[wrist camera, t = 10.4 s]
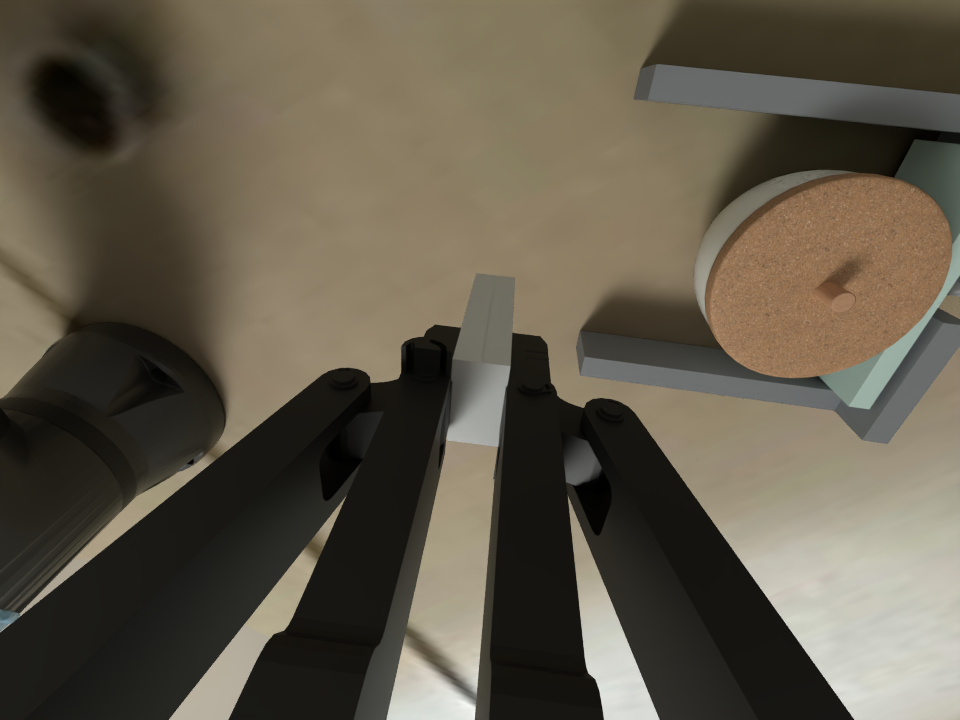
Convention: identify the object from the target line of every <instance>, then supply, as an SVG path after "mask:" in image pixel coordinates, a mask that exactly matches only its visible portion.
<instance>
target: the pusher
mask: <svg viewBox="0 0 960 720" xmlns="http://www.w3.org/2000/svg"><path fill="white" fill-rule="evenodd" d="M894 178H897V179H901V180H903V181H905V182H908V183H910V184H913V185H915V186H917V187H919V188H920V189H922V190H923V191H924V192H926V193H927V194H929V195H930V196H931V197H932V198H933V199H934V200H935V201H936V203H937V204H938V205H939V206H940V207H941V208H942V210H943V212H944V214H945V216H946V218H947V220H948V222H949V226H950V231H951V235H952V258H951V263H950V267H949V272H948V275H947V277H946V280H945V283H944V285H943V288H942V290H941V291H940V293H939V295H938V296H937V298H936V300H935V301H934V303H933V305H932V306H931V307H930V309H929V310H928V311H927V313H926V314H925V315H924V317H923V318H922V319H921V320H920V321H919V322H918V323H917V324H916V325H915V326H914V327H913V328H912V329H911V330H910V331H909V332H908V333H907V334H906V335H904V336H903V337H902V338H901V339H899V340H898V341H897V342H896V343H895V344H893V345H892V346H890V347H889V348H887V349H885V350H884V351H882V352H881V353H879V354H878V355H876V356H874V357H872V358H870V359H868V360H866V361H864V362H862V363H860V364H858V365H855V366H852V367H850V368H847V369H844V370H841V371H837V372H834V373H830V374H827V375H820V376H819V377H820V378H821V379H822V380H823V381H824V382H825V383H826V384H827V385H828V386H829V387H830V388H831V389H832V390H833V391H834V392H835V393H836V394H837V395H838V396H839V397H840V398H841V399H842V400H843V401H844V402H845V403H846V404H847V405H848V406H849V407H856V408H863V409H870V408H871V406H872V405H873V403H874V402H875V400H876V399H877V397H878V396H879V394H880V393H881V391H882V390H883V388H884V387H885V386H886V384H887V383H888V381H889V380H890V378H891V377H892V375H893V374H894V372H895V371H896V369H897V368H898V366H899V365H900V363H901V362H902V360H903V359H904V357H905V356H906V354H907V353H908V351H909V350H910V348H911V347H912V345H913V344H914V342H915V341H916V340H917V338H918V337H919V335H920V334H921V332H922V331H923V329H924V328H925V326H926V325H927V323H928V322H929V320H930V319H931V317H932V316H933V314H934V313H935V311H936V310H937V308H938V307H939V305H940V304H941V302H942V301H943V299H944V298H945V296H946V295H950V296H958V297H960V283H958V282H956V280H957V279H958V277H959V276H960V144H952V143H944V142H935V141H925V140H916V139H915V140H914V142H913V144H912V145H911V147H910V149H909V151H908V153H907V155H906V157H905V159H904V160H903V162H902V164H901V166H900V168H899V170H898V172H897V174H896V175H895V177H894Z"/></svg>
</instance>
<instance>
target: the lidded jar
mask: <svg viewBox="0 0 960 720" xmlns="http://www.w3.org/2000/svg"><path fill="white" fill-rule="evenodd" d="M951 258H952V235H951V231H950V226H949V222H948V220H947V218H946V216H945V214H944V212H943V210H942V208H941V207H940V206H939V205H938V204H937V203H936V201H935V200H934V199H933V198H932V197H931V196H930V195H929V194H927V193H926V192H924V191H923V190H922V189H920V188H919V187H917V186H915V185H913V184H910V183H908V182H905V181H903V180H901V179H897V178H892V177H887V176H882V175H878V174H870V173H856V172H850V171H841V170H812V171H803V172H797V173H791V174H787V175H783V176H780V177H776V178H773V179H771V180H768V181H766V182H763V183H761V184H759V185H757V186H755V187H753V188H752V189H750V190H748V191H746V192H745V193H743V194H742V195H740V196H739V197H738V198H736V199H735V200H734V201H732V202H731V203H730V204H729V205H728V206H727V207H725V208H724V209H723V210H722V211H721V212H720V213H719V214H718V216H717V217H716V218H715V219H714V221H713V222H712V223H711V225H710V226H709V228H708V229H707V231H706V233H705V234H704V236H703V238H702V241H701V243H700V245H699V248H698V251H697V254H696V258H695V262H694V271H693V277H694V288H695V294H696V297H697V301H698V304H699V307H700V310H701V312H702V314H703V316H704V318H705V320H706V321H707V323H708V325H709V327H710V329H711V331H712V333H713V335H714V337H715V339H716V340H717V341H718V343H719V344H720V345H721V346H722V348H723V349H724V350H725V352H726V353H727V354H728V355H729V356H731V357H732V358H733V359H734V360H735V361H736V362H738V363H740V364H741V365H743V366H745V367H747V368H748V369H751V370H753V371H756V372H759V373H761V374H766V375H770V376H775V377H785V378H803V377H814V376H820V375H827V374H830V373H834V372H837V371H841V370H844V369H847V368H850V367H852V366H855V365H858V364H860V363H862V362H864V361H866V360H868V359H870V358H872V357H874V356H876V355H878V354H879V353H881V352H882V351H884V350H885V349H887V348H889V347H890V346H892V345H893V344H895V343H896V342H897V341H898V340H899V339H901V338H902V337H903V336H904V335H906V334H907V333H908V332H909V331H910V330H911V329H912V328H913V327H914V326H915V325H916V324H917V323H918V322H919V321H920V320H921V319H922V318H923V317H924V315H925V314H926V313H927V311H928V310H929V309H930V307H931V306H932V305H933V303H934V301H935V300H936V298H937V296H938V295H939V293H940V291H941V290H942V288H943V285H944V283H945V280H946V277H947V275H948V272H949V267H950V263H951Z"/></svg>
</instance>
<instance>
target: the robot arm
mask: <svg viewBox="0 0 960 720" xmlns="http://www.w3.org/2000/svg"><path fill="white" fill-rule="evenodd" d="M514 290H515V278H512V277H504V276H495V275H487V274H478V273H476V276H475V280H474V283H473V287H472V290H471V294H470V298H469V301H468V305H467V309H466V312H465V316H464V319H463V323H462V327H461V328H458V327H450V326H442V325H434V326H433V327H431V328H430V329H428V330H427V331H426V333H425V335H424V337H417V338H412V339H410V340H408V341H405V342H404V344H403V345H402V346H401V374H400V377H399V379H397V380H393V381H389V382H380V383H370V377H369V376H368V375H367V373H366V372H363V371H361V370H359V369H353V368H338V369H335V370H331V371H328V372H327V373H325V374H323V375H321V376H320V377H319V378H318V379H316V380H315V381H314V382H313V383H311V384H310V385H309V386H308V387H306V388H305V389H304V390H303V391H301V392H300V393H299V394H298V395H296V396H295V397H294V398H293V399H291V400H290V401H289V402H288V403H286V404H285V405H284V406H283V407H281V408H280V409H279V410H278V411H276V412H275V413H274V414H273V415H271V416H270V417H269V418H268V419H266V420H265V421H264V422H263V423H261V424H260V425H259V426H258V427H256V428H255V429H254V430H253V431H251V432H250V433H249V434H248V435H246V436H245V437H244V438H243V439H241V440H240V441H239V442H238V443H236V444H235V445H234V446H233V447H231V448H230V449H229V450H228V451H226V452H225V453H224V454H223V455H221V456H220V457H219V458H218V459H216V460H215V461H214V462H213V463H211V464H210V465H209V466H208V467H206V468H205V469H204V470H203V471H201V472H200V473H199V474H198V475H196V476H195V477H194V478H193V479H191V480H190V481H189V482H188V483H186V484H185V485H184V486H183V487H181V488H180V489H179V490H178V491H176V492H175V493H174V494H173V495H171V496H170V497H169V498H168V499H166V500H165V501H164V502H163V503H161V504H160V505H159V506H158V507H156V508H155V509H154V510H153V511H151V512H150V513H149V514H148V515H147V516H145V517H144V518H143V519H142V520H140V521H139V522H138V523H137V524H135V525H134V526H133V527H132V528H130V529H129V530H128V531H127V532H125V533H124V534H123V535H122V536H120V537H119V538H118V539H117V540H115V541H114V542H113V543H112V544H110V545H109V546H108V547H107V548H105V549H104V550H103V551H102V552H100V553H99V554H98V555H97V556H95V557H94V558H93V559H92V560H90V561H89V562H88V563H87V564H85V565H84V566H83V567H82V568H80V569H79V570H78V571H77V572H75V573H74V574H73V575H72V576H70V577H69V578H68V579H67V580H66V581H64V582H63V583H62V584H60V585H59V586H58V587H57V588H55V589H54V590H53V591H52V592H50V593H49V594H48V595H47V596H45V597H44V598H43V599H42V600H40V601H39V602H38V603H37V604H35V605H34V606H33V607H32V608H30V609H29V610H28V611H27V612H25V613H24V614H23V615H22V616H20V614H19V613H21V612H22V611H23V609H24V608H25V607H26V606H27V605H28V604H29V603H30V602H31V601H32V600H33V599H34V598H35V597H36V596H37V595H38V594H39V593H40V592H41V591H42V590H43V589H44V588H45V587H46V586H47V585H48V584H49V583H50V582H51V581H52V580H53V579H54V578H55V577H56V576H57V575H58V574H59V573H60V572H61V571H62V570H63V569H64V568H65V567H66V566H67V565H68V564H69V563H70V562H71V561H72V560H73V559H74V558H75V557H76V556H77V555H78V554H79V553H80V552H81V551H82V550H83V549H84V548H85V547H86V546H87V545H88V544H89V543H90V542H91V541H92V540H93V539H94V538H95V537H96V536H97V535H98V534H99V533H100V532H101V531H102V530H103V529H104V528H105V527H106V526H107V525H108V524H109V523H110V522H111V521H112V520H113V519H114V518H115V517H116V516H117V515H118V514H119V513H120V512H121V511H122V510H123V509H124V508H125V507H126V506H127V505H128V504H129V503H130V502H131V501H132V500H133V499H134V498H135V497H136V496H138V495H139V494H141V493H143V492H145V491H147V490H149V489H150V488H152V487H154V486H156V485H158V484H160V483H161V482H163V481H165V480H167V479H168V478H170V477H171V476H173V475H174V474H176V473H177V472H179V471H183V470H185V469H187V468H189V467H191V466H193V465H194V464H196V463H197V462H198V461H200V460H201V459H202V458H203V457H204V456H205V455H206V454H207V453H208V452H209V451H210V450H211V449H212V447H213V446H214V445H215V444H216V443H217V442H218V441H219V439H220V437H221V435H222V432H223V429H224V412H223V407H222V404H221V401H220V398H219V396H218V394H217V392H216V390H215V388H214V386H213V385H212V383H211V382H210V380H209V379H208V377H207V376H206V375H205V374H204V372H203V371H202V370H201V369H200V368H199V367H198V366H197V365H196V364H195V363H194V362H193V361H192V360H191V359H190V358H189V357H188V356H187V355H185V354H184V353H183V352H182V351H180V350H179V349H178V348H176V347H175V346H173V345H172V344H170V343H169V342H167V341H165V340H164V339H162V338H160V337H158V336H156V335H154V334H152V333H150V332H147V331H145V330H142V329H139V328H136V327H133V326H129V325H125V324H119V323H96V324H91V325H88V326H85V327H83V328H80V329H79V330H77V331H75V332H73V333H71V334H69V335H67V336H65V337H63V338H61V339H59V340H58V341H56V342H55V343H54V344H53V345H51V346H50V347H49V348H48V350H47V351H46V352H45V354H44V355H43V357H42V358H41V359H40V360H39V361H38V362H37V363H36V364H35V365H34V366H33V367H32V368H31V369H30V370H29V371H28V372H27V373H26V374H25V375H24V376H23V377H22V379H21V380H20V381H19V382H18V383H17V384H16V385H15V386H14V387H13V388H12V389H11V390H10V391H9V393H8V394H7V395H5V396H4V397H3V398H1V399H0V631H1V630H2V629H4V628H5V627H6V626H7V625H8V624H10V623H12V624H10V625H9V626H8V627H7V628H5V629H4V630H3V631H2V632H0V720H169V718H170V717H171V716H172V715H173V713H174V712H175V711H176V709H177V708H178V707H179V706H180V705H181V703H182V702H183V701H184V699H185V698H186V697H187V696H188V694H189V693H190V692H191V691H192V689H193V688H194V687H195V686H196V684H197V683H198V682H199V681H200V679H201V678H202V677H203V675H204V674H205V673H206V672H207V671H208V669H209V668H210V667H211V666H212V664H213V663H214V662H215V660H216V659H217V658H218V657H219V655H220V654H221V653H222V652H223V650H224V649H225V648H226V647H227V645H228V644H229V643H230V642H231V640H232V639H233V638H234V636H235V635H236V634H237V633H238V631H239V630H240V629H241V628H242V626H243V625H244V624H245V623H246V621H247V620H248V619H249V618H250V616H251V615H252V614H253V613H254V611H255V610H256V609H257V608H258V606H259V605H260V604H261V602H262V601H263V600H264V599H265V597H266V596H267V595H268V594H269V592H270V591H271V590H272V589H273V587H274V586H275V585H276V584H277V582H278V581H279V580H280V579H281V577H282V576H283V575H284V574H285V572H286V571H287V570H288V568H289V567H290V566H291V565H292V563H293V562H294V561H295V560H296V558H297V557H298V556H299V555H300V553H301V552H302V551H303V550H304V548H305V547H306V546H307V545H308V543H309V542H310V541H311V539H312V538H313V537H314V536H315V534H316V533H317V532H318V531H319V529H320V528H321V527H322V526H323V524H324V523H325V522H326V521H327V519H328V518H329V517H330V516H331V514H332V513H333V512H334V510H335V509H336V508H337V507H338V505H339V504H340V503H341V502H342V500H343V499H344V498H345V497H346V498H345V501H344V503H343V505H342V507H341V510H340V512H339V514H338V517H337V519H336V521H335V523H334V526H333V528H332V530H331V532H330V535H329V537H328V539H327V541H326V544H325V546H324V548H323V550H322V553H321V555H320V557H319V559H318V562H317V564H316V566H315V568H314V571H313V573H312V575H311V577H310V580H309V582H308V584H307V586H306V589H305V591H304V593H303V595H302V598H301V600H300V602H299V604H298V607H297V609H296V611H295V613H294V616H293V618H292V620H291V622H290V624H289V625H288V627H287V628H286V629H285V630H284V631H282V632H279V633H276V634H274V635H273V636H272V637H271V638H270V639H269V641H268V642H267V643H266V644H265V646H264V648H263V650H262V652H261V653H260V655H259V657H258V659H257V661H256V663H255V665H254V667H253V669H252V671H251V673H250V675H249V678H248V680H247V682H246V684H245V686H244V688H243V690H242V692H241V695H240V697H239V699H238V701H237V703H236V705H235V707H234V709H233V711H232V714H231V716H230V718H229V720H386V719H387V714H388V709H389V705H390V700H391V696H392V691H393V686H394V682H395V677H396V673H397V668H398V664H399V659H400V655H401V650H402V646H403V641H404V637H405V632H406V627H407V623H408V618H409V614H410V609H411V605H412V600H413V596H414V591H415V587H416V582H417V577H418V573H419V568H420V564H421V559H422V555H423V550H424V546H425V541H426V537H427V532H428V528H429V523H430V518H431V514H432V509H433V505H434V500H435V496H436V491H437V487H438V482H439V478H440V473H441V468H442V464H443V459H444V455H445V445H446V436H447V440H449V441H456V442H464V443H472V444H480V445H487V446H495V447H498V451H497V458H496V464H495V471H494V478H493V479H495V481H494V493H493V505H492V518H491V530H490V542H489V554H488V566H487V578H486V591H485V603H484V615H483V627H482V639H481V652H480V664H479V676H478V688H477V700H476V712H475V720H604V718H603V710H602V704H601V698H600V693H599V689H598V686H597V683H596V680H595V679H594V678H593V677H592V676H591V675H589V674H588V671H587V668H586V663H585V657H584V647H583V638H582V628H581V619H580V609H579V600H578V590H577V581H576V571H575V562H574V552H573V543H572V533H571V524H570V514H569V504H568V497H569V499H570V501H571V504H572V506H573V509H574V511H575V514H576V516H577V519H578V521H579V523H580V526H581V528H582V531H583V533H584V536H585V538H586V541H587V543H588V545H589V548H590V550H591V553H592V555H593V558H594V560H595V563H596V565H597V567H598V570H599V572H600V575H601V577H602V580H603V582H604V585H605V587H606V589H607V592H608V594H609V597H610V599H611V602H612V604H613V607H614V609H615V611H616V614H617V616H618V619H619V621H620V624H621V626H622V629H623V631H624V633H625V636H626V638H627V641H628V643H629V646H630V648H631V651H632V653H633V655H634V658H635V660H636V663H637V665H638V668H639V670H640V673H641V675H642V677H643V680H644V682H645V685H646V687H647V690H648V692H649V695H650V697H651V699H652V702H653V704H654V707H655V709H656V712H657V714H658V717H659V719H660V720H854V719H853V717H852V716H851V714H850V713H849V712H848V710H847V709H846V707H845V706H844V705H843V703H842V702H841V700H840V699H839V698H838V696H837V695H836V693H835V692H834V691H833V689H832V688H831V687H830V685H829V684H828V682H827V681H826V680H825V678H824V677H823V675H822V674H821V673H820V671H819V670H818V668H817V667H816V666H815V664H814V663H813V661H812V660H811V659H810V657H809V656H808V654H807V653H806V652H805V650H804V649H803V647H802V646H801V645H800V643H799V642H798V640H797V639H796V638H795V636H794V635H793V633H792V632H791V631H790V629H789V628H788V626H787V625H786V624H785V622H784V621H783V619H782V618H781V617H780V615H779V614H778V612H777V611H776V610H775V608H774V607H773V605H772V604H771V603H770V601H769V600H768V598H767V597H766V596H765V594H764V593H763V591H762V590H761V589H760V587H759V586H758V584H757V583H756V582H755V580H754V579H753V577H752V576H751V575H750V573H749V572H748V571H747V569H746V568H745V566H744V565H743V564H742V562H741V561H740V559H739V558H738V557H737V555H736V554H735V552H734V551H733V550H732V548H731V547H730V545H729V544H728V543H727V541H726V540H725V538H724V537H723V536H722V534H721V533H720V531H719V530H718V529H717V527H716V526H715V524H714V523H713V522H712V520H711V519H710V517H709V516H708V515H707V513H706V512H705V510H704V509H703V508H702V506H701V505H700V503H699V502H698V501H697V499H696V498H695V496H694V495H693V494H692V492H691V491H690V489H689V488H688V487H687V485H686V484H685V482H684V481H683V480H682V478H681V477H680V475H679V474H678V473H677V471H676V470H675V468H674V467H673V466H672V464H671V463H670V461H669V460H668V459H667V457H666V456H665V454H664V453H663V452H662V450H661V449H660V448H659V446H658V445H657V443H656V442H655V441H654V439H653V438H652V436H651V435H650V434H649V432H648V431H647V429H646V428H645V427H644V425H643V424H642V422H641V421H640V420H639V418H638V417H637V415H636V414H635V413H634V412H633V411H632V410H631V409H630V408H629V407H628V406H626V405H624V404H622V403H621V402H618V401H616V400H612V399H604V398H598V399H592V400H590V401H589V402H587V403H586V405H585V407H584V408H581V407H578V406H575V405H573V404H570V403H568V402H566V401H564V400H562V399H560V398H559V397H558V396H557V391H556V389H555V387H554V385H552V384H551V379H550V368H549V358H548V347H547V344H546V342H545V341H544V340H543V339H542V338H541V337H540V336H533V335H525V334H517V333H512V328H513V309H514ZM567 494H568V495H567ZM346 495H347V496H346ZM19 616H20V617H19ZM18 617H19V618H18Z"/></svg>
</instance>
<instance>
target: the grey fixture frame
mask: <svg viewBox="0 0 960 720" xmlns="http://www.w3.org/2000/svg"><path fill="white" fill-rule="evenodd" d="M634 99H635V100H645V101H654V102H664V103H673V104H683V105H692V106H702V107H711V108H721V109H731V110H740V111H750V112H759V113H769V114H778V115H788V116H797V117H807V118H816V119H826V120H835V121H845V122H854V123H864V124H873V125H883V126H892V127H902V128H911V129H921V130H931V131H940V132H941V134H940V135H939V137H938V139H937V141H936V142H944V143H952V144H960V94H950V93H941V92H931V91H921V90H911V89H901V88H891V87H881V86H871V85H861V84H851V83H841V82H831V81H821V80H811V79H801V78H791V77H781V76H771V75H762V74H752V73H742V72H732V71H722V70H712V69H702V68H692V67H682V66H672V65H662V64H655V65H651V66H648V67H644V68H641V69H640V74H639V78H638V82H637V87H636V91H635V95H634ZM956 282H958V283H960V276H959V277H958V279H957V280H956ZM959 346H960V319H958V318H956V317H954V316H952V315H950V314H949V313H947V312H945V311H943V310H941V309H939V308H937V310H936V311H935V313H934V314H933V316H932V317H931V319H930V320H929V322H928V323H927V325H926V326H925V328H924V329H923V331H922V332H921V334H920V335H919V337H918V338H917V340H916V341H915V342H914V344H913V345H912V347H911V348H910V350H909V351H908V353H907V354H906V356H905V357H904V359H903V360H902V362H901V363H900V365H899V366H898V368H897V369H896V371H895V372H894V374H893V375H892V377H891V378H890V380H889V381H888V383H887V384H886V386H885V387H884V388H883V390H882V391H881V393H880V394H879V396H878V397H877V399H876V400H875V402H874V403H873V405H872V406H871V408H870V409H863V408H856V407H849V406H848V405H847V404H846V403H845V402H844V401H843V400H842V399H841V398H840V397H839V396H838V395H837V394H836V393H835V392H834V391H833V390H832V389H831V388H830V387H829V386H828V385H827V384H826V383H825V382H824V381H823V380H822V379H821V378H820V377H819V376H814V377H803V378H785V377H775V376H770V375H766V374H761V373H759V372H756V371H753V370H751V369H748V368H747V367H745V366H743V365H741V364H740V363H738V362H736V361H735V360H734V359H733V358H732V357H731V356H729V355H728V354H727V353H726V352H725V350H724V349H717V348H710V347H702V346H695V345H687V344H680V343H672V342H665V341H657V340H649V339H642V338H634V337H627V336H619V335H612V334H604V333H597V332H589V331H582V330H580V333H579V338H578V342H577V346H576V350H577V357H578V364H579V371H580V376H587V377H594V378H602V379H609V380H616V381H623V382H630V383H638V384H645V385H652V386H659V387H667V388H674V389H681V390H688V391H696V392H703V393H710V394H717V395H724V396H732V397H739V398H746V399H753V400H761V401H768V402H775V403H782V404H790V405H797V406H804V407H811V408H818V409H826V410H833V411H835V412H836V413H837V414H838V415H839V416H840V417H841V418H842V419H843V420H844V421H845V422H846V423H847V425H848V426H849V427H850V428H851V429H852V430H853V431H854V432H855V433H856V434H857V435H858V436H859V437H860V438H861V439H862V440H864V441H871V442H879V443H886V444H888V443H889V441H890V440H891V438H892V437H893V436H894V434H895V433H896V432H897V430H898V429H899V428H900V426H901V425H902V424H903V422H904V421H905V419H906V418H907V417H908V415H909V414H910V413H911V411H912V410H913V409H914V407H915V406H916V405H917V403H918V402H919V400H920V399H921V398H922V396H923V395H924V394H925V392H926V391H927V390H928V388H929V387H930V386H931V384H932V383H933V381H934V380H935V379H936V377H937V376H938V375H939V373H940V372H941V371H942V369H943V368H944V367H945V365H946V364H947V362H948V361H949V360H950V358H951V357H952V356H953V354H954V353H955V352H956V350H957V349H958V348H959Z"/></svg>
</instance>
